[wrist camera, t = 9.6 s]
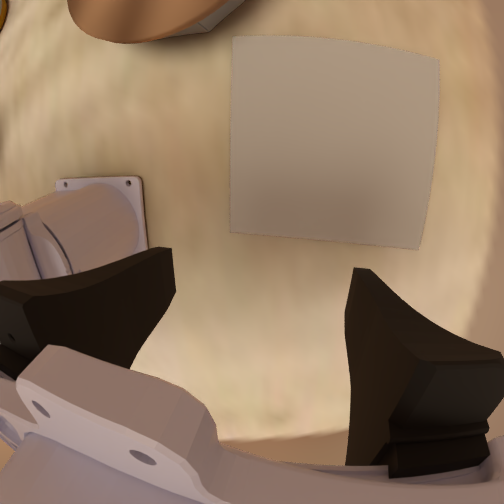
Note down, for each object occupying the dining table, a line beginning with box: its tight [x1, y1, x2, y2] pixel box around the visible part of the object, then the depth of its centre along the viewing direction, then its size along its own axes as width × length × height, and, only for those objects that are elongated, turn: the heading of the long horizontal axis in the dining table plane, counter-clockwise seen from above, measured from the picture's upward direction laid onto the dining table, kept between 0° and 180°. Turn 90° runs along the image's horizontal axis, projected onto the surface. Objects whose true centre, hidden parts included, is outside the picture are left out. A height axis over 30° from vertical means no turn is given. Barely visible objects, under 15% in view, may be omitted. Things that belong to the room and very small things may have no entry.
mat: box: [230, 35, 440, 250], centre depth 18 cm, size 14×14×1 cm
